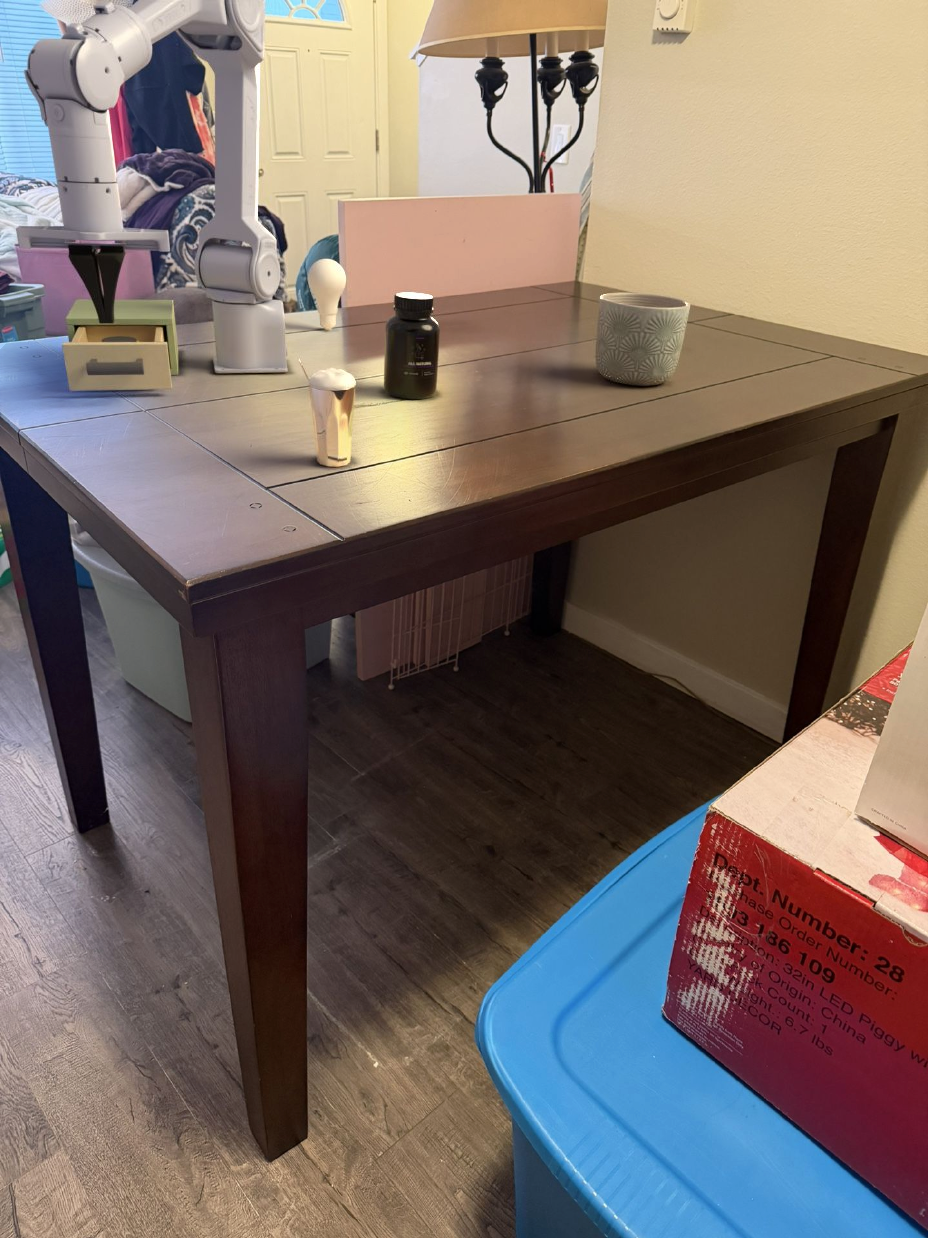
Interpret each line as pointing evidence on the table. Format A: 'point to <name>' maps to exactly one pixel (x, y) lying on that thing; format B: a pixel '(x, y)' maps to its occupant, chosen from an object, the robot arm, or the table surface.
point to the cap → (119, 339)
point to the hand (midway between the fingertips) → (107, 321)
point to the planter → (639, 337)
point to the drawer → (117, 358)
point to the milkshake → (332, 414)
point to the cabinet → (130, 320)
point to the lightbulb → (327, 289)
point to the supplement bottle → (411, 348)
